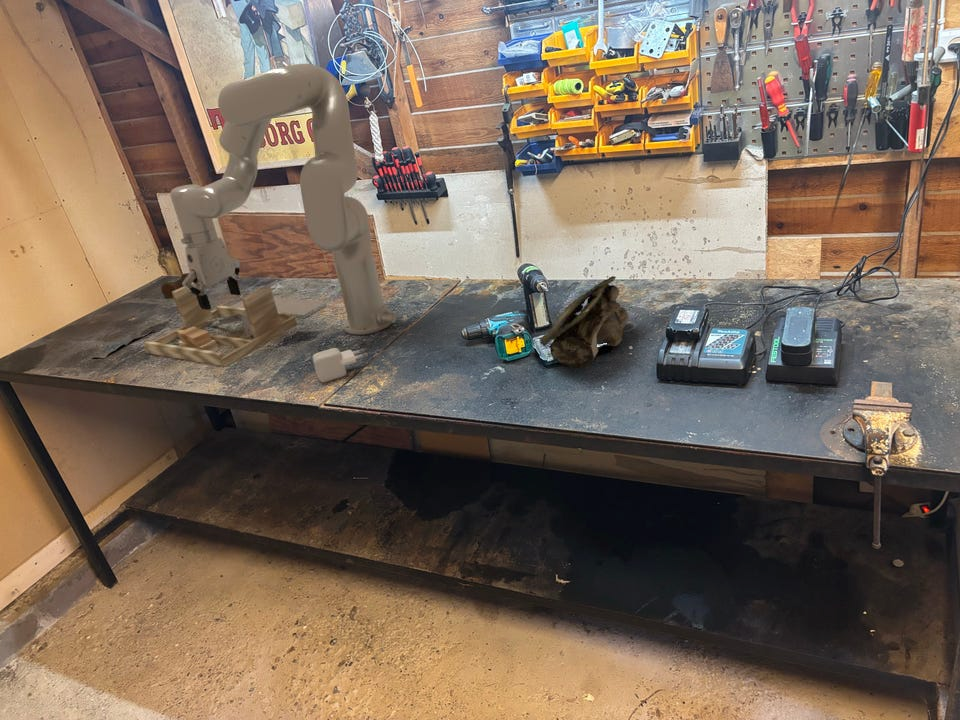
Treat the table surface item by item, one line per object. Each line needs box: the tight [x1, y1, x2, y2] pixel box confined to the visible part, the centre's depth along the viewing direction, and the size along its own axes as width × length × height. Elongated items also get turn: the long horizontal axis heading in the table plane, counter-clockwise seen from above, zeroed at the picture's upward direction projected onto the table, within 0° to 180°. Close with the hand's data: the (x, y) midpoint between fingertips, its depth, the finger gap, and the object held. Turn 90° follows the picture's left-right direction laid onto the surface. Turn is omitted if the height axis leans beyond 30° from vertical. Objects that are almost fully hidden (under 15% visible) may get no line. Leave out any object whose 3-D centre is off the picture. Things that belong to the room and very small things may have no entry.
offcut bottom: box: [177, 340, 220, 352], centre depth 159 cm, size 10×4×3 cm, turn 57°
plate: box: [230, 296, 327, 319], centre depth 180 cm, size 29×9×1 cm, turn 61°
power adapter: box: [312, 347, 369, 383], centre depth 136 cm, size 11×5×6 cm, turn 114°
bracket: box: [207, 313, 254, 339], centre depth 167 cm, size 3×21×10 cm, turn 52°
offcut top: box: [179, 327, 212, 347], centre depth 158 cm, size 8×4×2 cm, turn 50°
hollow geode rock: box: [539, 275, 629, 369], centre depth 129 cm, size 28×13×15 cm
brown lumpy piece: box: [160, 272, 193, 299], centre depth 207 cm, size 6×5×15 cm
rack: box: [143, 282, 298, 367], centre depth 162 cm, size 30×24×12 cm
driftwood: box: [92, 322, 154, 359], centre depth 172 cm, size 21×7×2 cm, turn 156°
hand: (221, 301), depth 164 cm, fingers open, 9 cm apart
